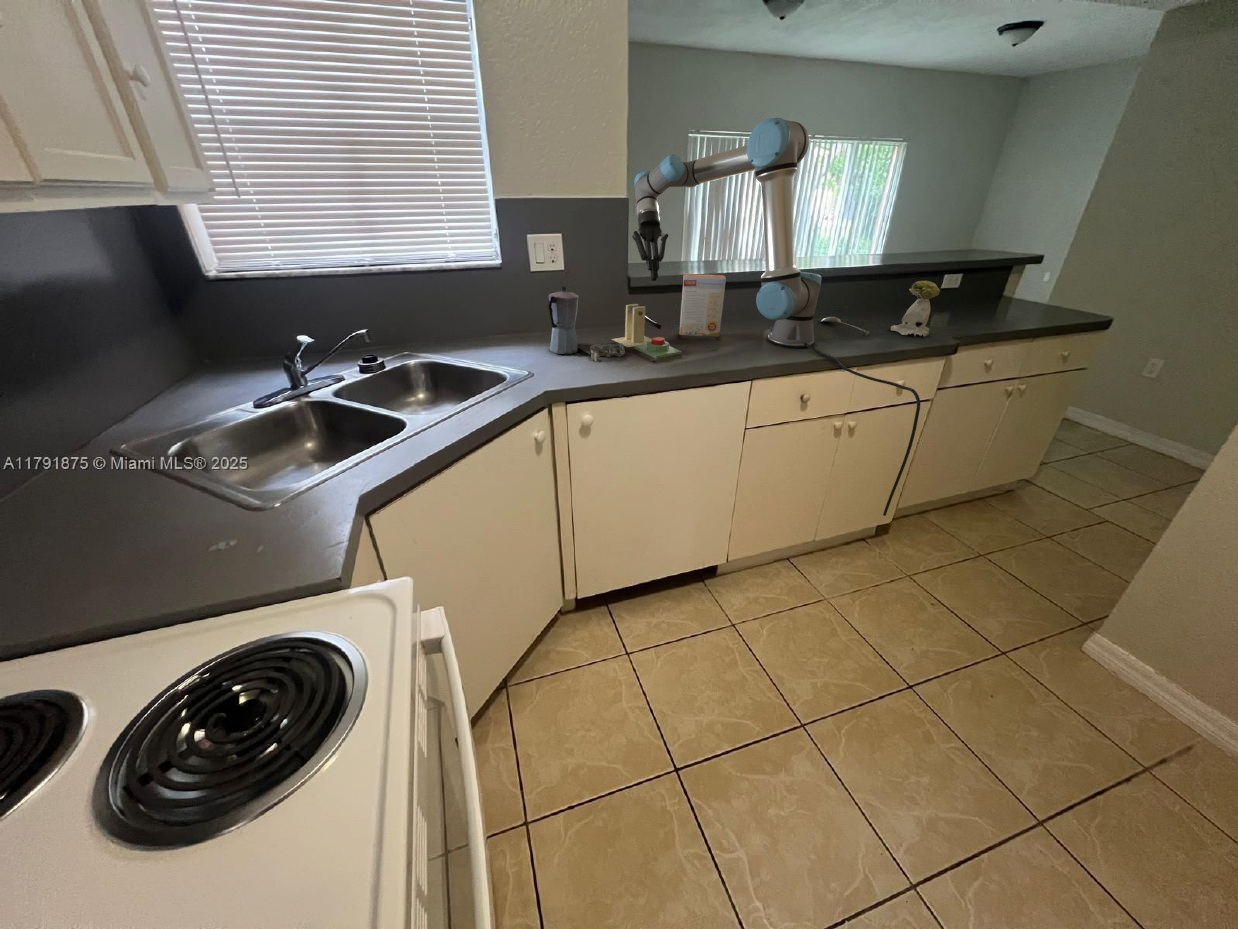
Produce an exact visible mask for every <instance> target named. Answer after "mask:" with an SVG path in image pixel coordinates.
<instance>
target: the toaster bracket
mask: <svg viewBox="0 0 1238 929" xmlns="http://www.w3.org/2000/svg"><path fill="white" fill-rule="evenodd" d="M632 306H635V307H634V308H633V315H632V314H631V313H629V311H630V310H631V308H632ZM645 316H646V306H645V305H644V306H643V305H642V306H639V303H632V304H626V305H625V322H624V323H625V325H624V326H625V327H624V328H625V329H624V336H623V337H615V338H612V339H611V340H612V341H614V342H616V343H617V344H620V343H622V344H623V346H624V347H627V348H630V347H631V348H632V347H634V346H637V345H643V344H647V342H648V341H651V340H652V338H650V337H647V336H645V329H646V328H645V327H646V320H645Z"/></svg>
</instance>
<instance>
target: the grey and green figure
mask: <svg viewBox="0 0 1238 929" xmlns="http://www.w3.org/2000/svg"><path fill="white" fill-rule="evenodd" d="M908 291H909V292H910V294H912V295H913V296H916V297H917V299H916V300H915V301H914V302H913V303H912V304H911V306H910V307H909V308H908V309H907V310H906V312H905V314H904V315H903V317H902V318H901V324H898V325H897V324H896V325H895V324H894V325H891V326H890V331H895V332H897V333H899V334H900V335H902V336H908V335H911V334H912V335H914V336H916V335H919V336H920V337H922V335H923V337H927V336H928V335H929V332H930V329H929V327H927V324H928V321H929V317H930V314H931V304H930V299H932V298H935V297H937V296H939V295H940V292H941V289H940V288H939V287H938V285H937V284H936V283H934V282H932V281H930V280H918V281H915V282H913V283H912V285H911V288H908Z"/></svg>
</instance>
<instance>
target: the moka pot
mask: <svg viewBox="0 0 1238 929" xmlns="http://www.w3.org/2000/svg"><path fill="white" fill-rule="evenodd" d="M579 296H580V295H579V294H576V293H575V292H568V291H567V286H565V285H561V291H557V292H552V293H550V294H548V303H547V307H548V312H549V317H550V321H551V337H550V344H549V345H550V346H549V350H550V352H551V353H553V354H559V355H570V354H575V353H577V352H578V350H579V349H578V341H577V331H576V321H577V314H578V306H579V305H578V304H579Z"/></svg>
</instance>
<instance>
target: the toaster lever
mask: <svg viewBox="0 0 1238 929" xmlns="http://www.w3.org/2000/svg"><path fill="white" fill-rule="evenodd" d="M634 307H635V306H632V308H631V310H630V311H629V313H631V314H632V315H633V308H634ZM645 322H647V323H648V325H649V326H651V327H653V328H656V329H658V330H661V329H662V325H661V324H660V323H658V322H655V321H654V320H651V319H650V318H649V317H648V316H647V315H645Z"/></svg>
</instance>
